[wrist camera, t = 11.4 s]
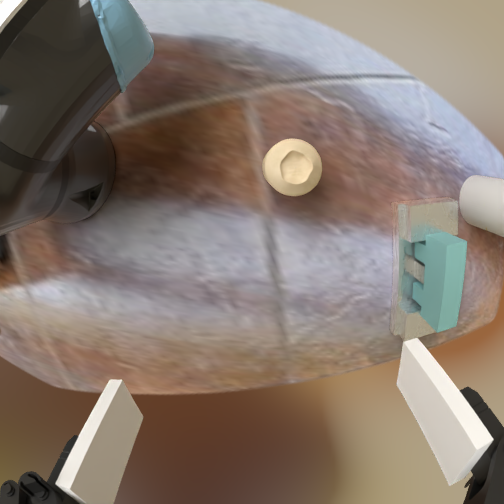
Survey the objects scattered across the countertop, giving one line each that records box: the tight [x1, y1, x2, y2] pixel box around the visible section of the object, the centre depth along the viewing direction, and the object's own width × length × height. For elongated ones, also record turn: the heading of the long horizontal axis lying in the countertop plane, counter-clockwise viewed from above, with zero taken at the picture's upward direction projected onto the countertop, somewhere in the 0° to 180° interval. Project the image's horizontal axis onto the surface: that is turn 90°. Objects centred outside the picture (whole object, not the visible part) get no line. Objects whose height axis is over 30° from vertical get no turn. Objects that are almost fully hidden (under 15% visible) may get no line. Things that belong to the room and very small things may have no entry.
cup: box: [459, 175, 504, 237], centre depth 29 cm, size 8×8×12 cm
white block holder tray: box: [390, 197, 458, 341], centre depth 36 cm, size 20×10×4 cm, turn 9°
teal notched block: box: [412, 232, 467, 333], centre depth 33 cm, size 12×4×8 cm, turn 9°
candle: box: [262, 139, 322, 196], centre depth 30 cm, size 6×6×10 cm
